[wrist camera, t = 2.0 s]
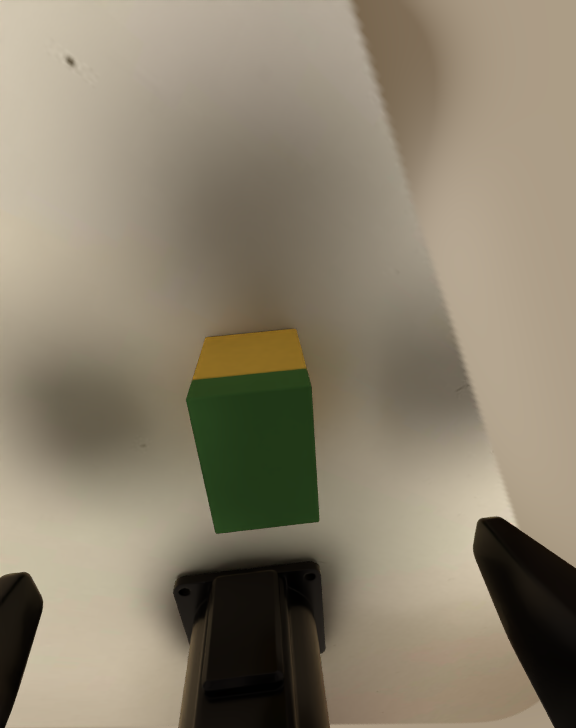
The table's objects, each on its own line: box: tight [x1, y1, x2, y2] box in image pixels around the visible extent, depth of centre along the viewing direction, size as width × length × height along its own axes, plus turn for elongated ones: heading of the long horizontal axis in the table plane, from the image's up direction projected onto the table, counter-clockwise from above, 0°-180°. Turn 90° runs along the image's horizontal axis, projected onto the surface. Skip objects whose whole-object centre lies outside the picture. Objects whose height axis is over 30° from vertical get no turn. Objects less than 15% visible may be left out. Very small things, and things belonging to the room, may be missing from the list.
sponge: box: [186, 329, 319, 534], centre depth 12 cm, size 4×3×4 cm, turn 5°
